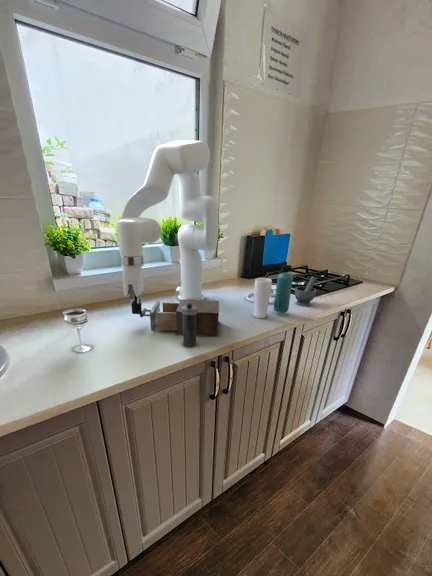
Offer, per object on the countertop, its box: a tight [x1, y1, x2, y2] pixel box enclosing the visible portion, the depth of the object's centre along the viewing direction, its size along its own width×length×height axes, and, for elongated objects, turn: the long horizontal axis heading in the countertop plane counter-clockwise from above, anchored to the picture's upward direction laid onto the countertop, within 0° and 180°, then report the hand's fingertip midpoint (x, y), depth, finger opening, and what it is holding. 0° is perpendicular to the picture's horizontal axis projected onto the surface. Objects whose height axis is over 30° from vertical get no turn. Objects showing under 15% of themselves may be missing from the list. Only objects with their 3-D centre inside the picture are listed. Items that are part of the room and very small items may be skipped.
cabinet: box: [176, 299, 220, 338], centre depth 118 cm, size 15×15×9 cm
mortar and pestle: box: [294, 276, 317, 307], centre depth 148 cm, size 11×9×12 cm
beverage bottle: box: [273, 264, 294, 314], centre depth 133 cm, size 6×7×20 cm
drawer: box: [139, 300, 180, 332], centre depth 118 cm, size 18×13×7 cm
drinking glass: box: [252, 277, 273, 319], centre depth 130 cm, size 7×7×15 cm
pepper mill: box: [181, 303, 197, 348], centre depth 104 cm, size 5×5×14 cm
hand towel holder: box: [245, 284, 277, 305], centre depth 156 cm, size 17×4×21 cm
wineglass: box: [62, 308, 91, 353], centre depth 99 cm, size 7×7×12 cm
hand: (137, 313), depth 118 cm, fingers closed
